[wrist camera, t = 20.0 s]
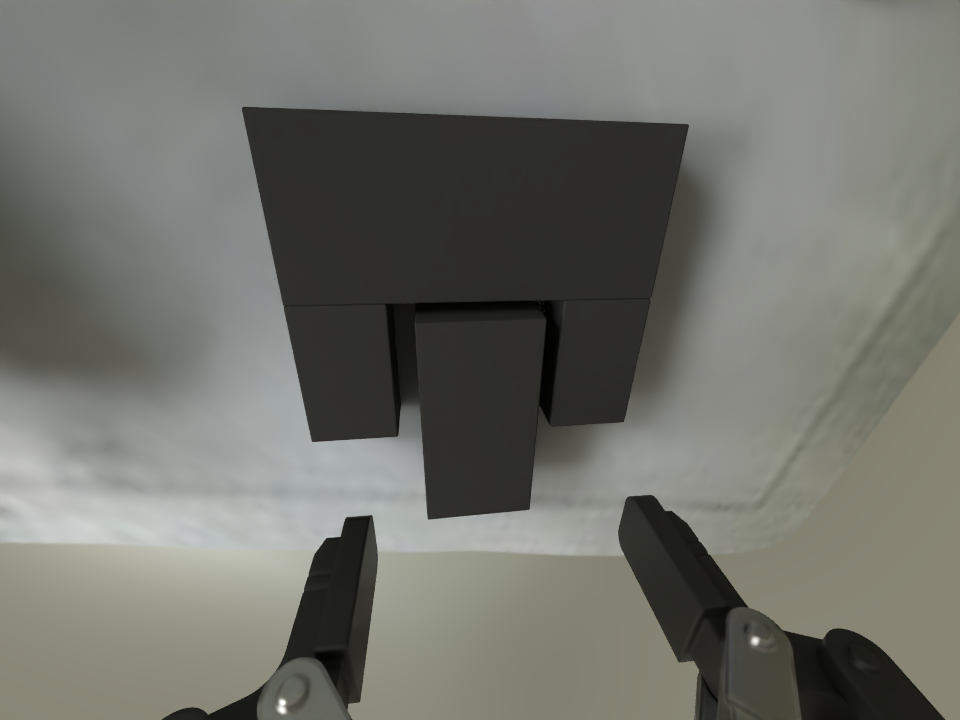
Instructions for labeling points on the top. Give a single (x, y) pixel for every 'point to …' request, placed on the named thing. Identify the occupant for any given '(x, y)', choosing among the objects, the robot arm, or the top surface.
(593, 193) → the base pad
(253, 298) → the top surface
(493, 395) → the black rectangular block
